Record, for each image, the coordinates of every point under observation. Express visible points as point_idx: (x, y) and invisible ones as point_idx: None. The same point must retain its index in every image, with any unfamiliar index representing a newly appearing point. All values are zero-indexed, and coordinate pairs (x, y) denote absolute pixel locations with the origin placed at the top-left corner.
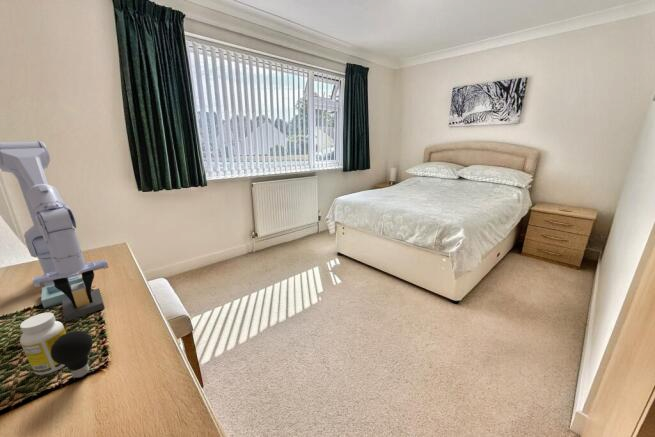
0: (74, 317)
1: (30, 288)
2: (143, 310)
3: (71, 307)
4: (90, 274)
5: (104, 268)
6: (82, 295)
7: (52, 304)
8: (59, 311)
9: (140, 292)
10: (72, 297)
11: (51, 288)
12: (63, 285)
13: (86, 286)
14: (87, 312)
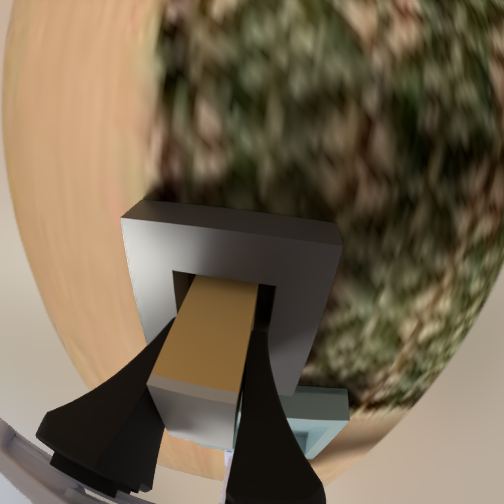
0: (290, 219)
1: (322, 458)
2: (26, 45)
3: (280, 309)
4: (57, 451)
5: (4, 423)
6: (192, 341)
7: (322, 392)
8: (322, 341)
9: (28, 226)
10: (252, 364)
11: None
12: (265, 490)
13: (136, 388)
14: (219, 212)
